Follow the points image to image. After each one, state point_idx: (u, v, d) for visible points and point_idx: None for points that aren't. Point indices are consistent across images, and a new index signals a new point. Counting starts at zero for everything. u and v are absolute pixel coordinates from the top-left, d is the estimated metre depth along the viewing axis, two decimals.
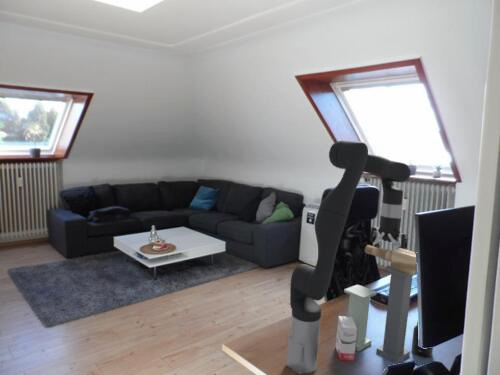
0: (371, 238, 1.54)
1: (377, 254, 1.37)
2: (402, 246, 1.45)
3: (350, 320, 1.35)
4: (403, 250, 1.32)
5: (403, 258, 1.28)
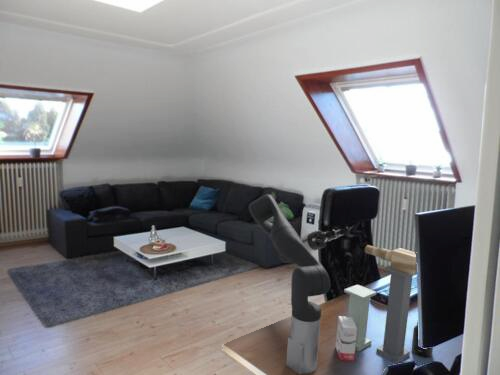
0: (319, 234, 1.54)
1: (377, 254, 1.37)
2: None
3: (350, 320, 1.35)
4: (403, 250, 1.32)
5: (403, 258, 1.28)
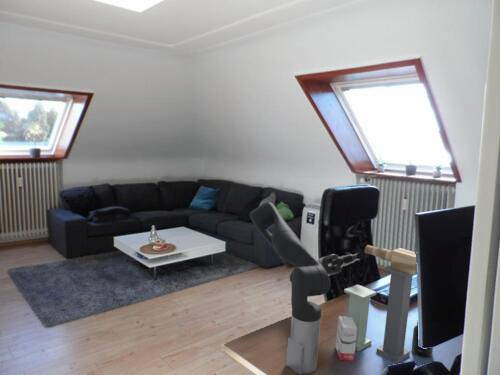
0: (336, 259, 1.45)
1: (377, 254, 1.37)
2: None
3: (350, 320, 1.35)
4: (403, 250, 1.32)
5: (403, 258, 1.28)
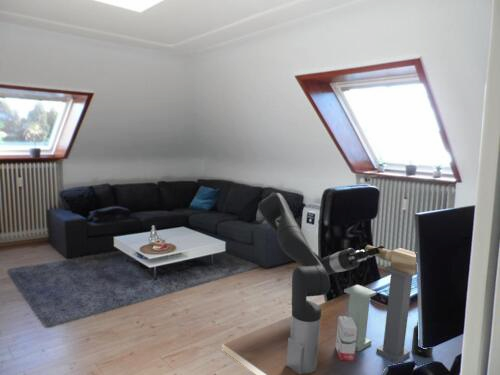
0: (360, 251, 1.39)
1: (377, 254, 1.37)
2: None
3: (350, 320, 1.35)
4: (403, 250, 1.32)
5: (403, 258, 1.28)
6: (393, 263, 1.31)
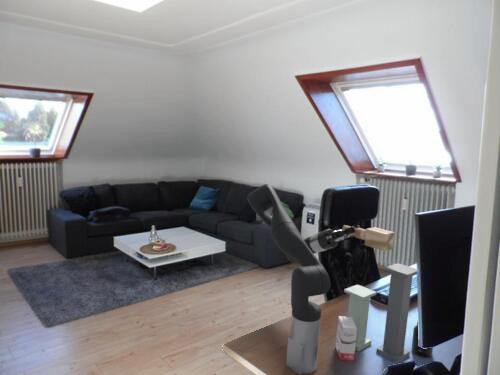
0: (337, 231, 1.46)
1: (353, 233, 1.44)
2: None
3: (350, 320, 1.35)
4: (377, 229, 1.39)
5: (376, 235, 1.36)
6: (367, 241, 1.38)
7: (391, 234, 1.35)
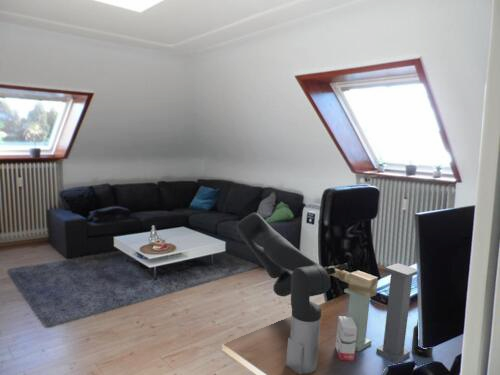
0: None
1: (337, 276, 1.45)
2: (338, 265, 1.53)
3: (350, 320, 1.35)
4: (360, 273, 1.39)
5: (359, 281, 1.36)
6: (351, 285, 1.39)
7: (374, 280, 1.35)
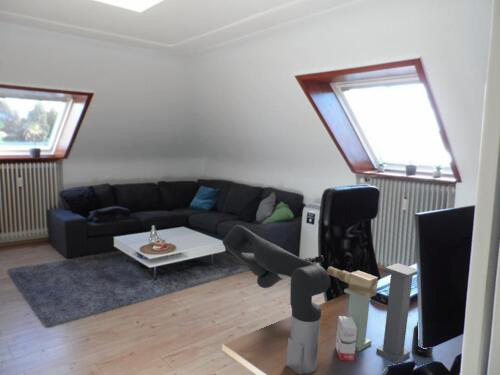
0: None
1: (337, 276, 1.45)
2: None
3: (350, 320, 1.35)
4: (360, 273, 1.39)
5: (359, 281, 1.36)
6: (351, 285, 1.39)
7: (374, 280, 1.35)
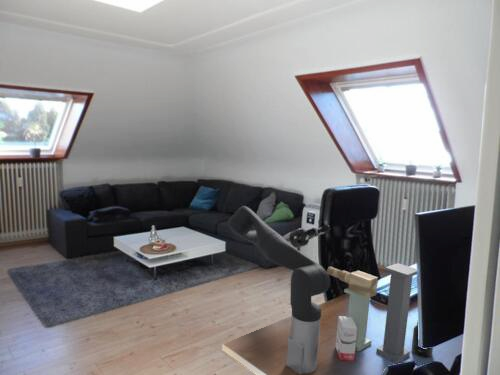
0: (300, 232, 1.56)
1: (337, 276, 1.45)
2: None
3: (350, 320, 1.35)
4: (360, 273, 1.39)
5: (359, 281, 1.36)
6: (351, 285, 1.39)
7: (374, 280, 1.35)
